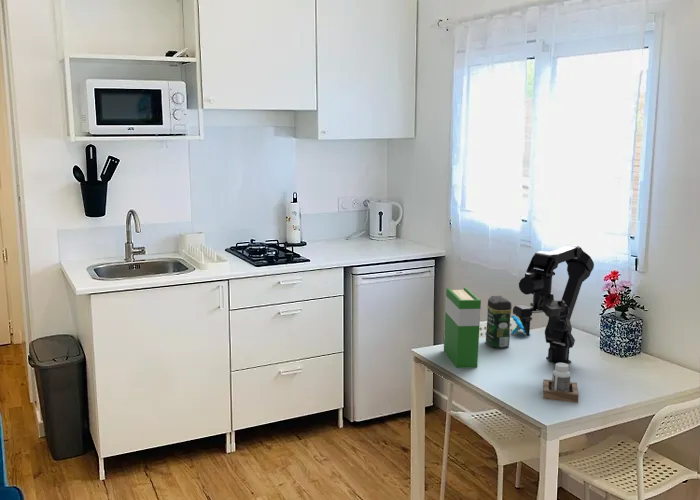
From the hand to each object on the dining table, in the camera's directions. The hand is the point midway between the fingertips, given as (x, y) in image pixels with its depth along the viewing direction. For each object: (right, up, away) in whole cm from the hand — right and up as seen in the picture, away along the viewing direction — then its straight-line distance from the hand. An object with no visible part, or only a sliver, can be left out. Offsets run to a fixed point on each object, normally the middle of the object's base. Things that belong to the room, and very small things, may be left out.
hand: (539, 334), depth 245 cm
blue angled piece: (+4, -5, +42) cm, 43 cm away
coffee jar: (-8, -8, +29) cm, 31 cm away
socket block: (+2, -17, -18) cm, 25 cm away
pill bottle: (+2, -17, -18) cm, 25 cm away
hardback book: (-25, -11, +13) cm, 30 cm away
